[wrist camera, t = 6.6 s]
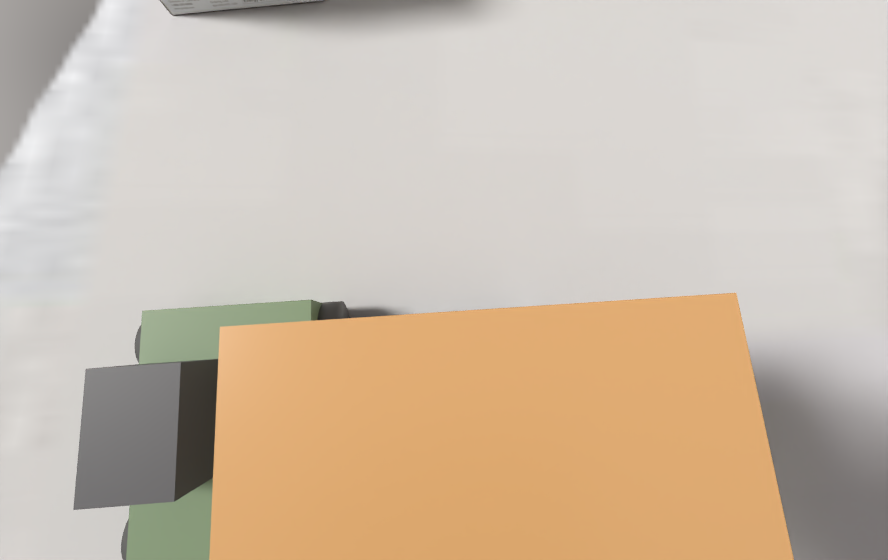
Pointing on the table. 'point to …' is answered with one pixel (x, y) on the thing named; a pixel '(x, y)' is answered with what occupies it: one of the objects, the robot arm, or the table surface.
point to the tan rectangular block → (496, 437)
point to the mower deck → (192, 342)
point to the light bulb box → (219, 4)
